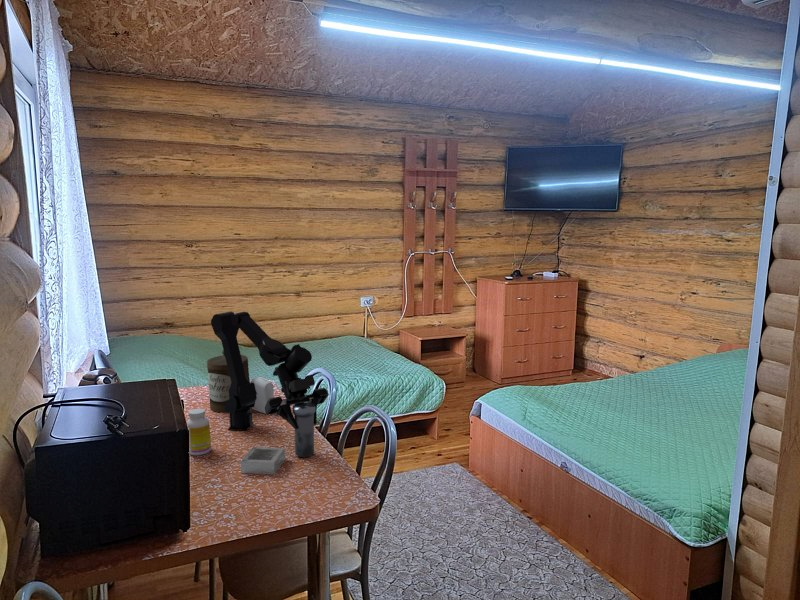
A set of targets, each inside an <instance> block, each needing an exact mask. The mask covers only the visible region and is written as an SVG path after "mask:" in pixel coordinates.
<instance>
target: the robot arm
mask: <svg viewBox="0 0 800 600" xmlns="http://www.w3.org/2000/svg"><path fill="white" fill-rule="evenodd" d="M210 324H211V328H212V330H213V334H214V335H215V336H216V337H217V338H218V339H219V340H220V341H221V345H222V351H223V350H224V354H225V358H226V362H227V366H228V370H229V374H230V379H231V386H230V389H229V398H230V399H229V400H228V401H227V403H226V404H225V405H224V408H225V412H228V414H229V425H230V426H229V427H228V428H227V429H228V431H247V430H249V428H251V427H252V426H253V425H254V422H253V412H252V411H251V410H252V407H254V405H255V401H256V399H257V396H256V394H257V392H256V390H255V384H254V383H251V381H250V382H249V381H248V380H247V378H246V374H245V370H244V366H243V362H242V358H241V355H242V354H241V349H240V346H239V343H238V339H237V337H238V332H239V330H240V331H241V332H242V333H243V334H244V335H245V336H246V337H247V338H248V339H249V340H250V341H251V342H252V343H253V344H254V346H255V347H256V348H257V349H258V353H259V357H260V358H261V359H262V361H263V362H264V364H265V365H267V366H268V367H272V366H275V368H274V371H273V373H272V377H277V378H278V381H279V383H280V387H281V389H280V391H281V393H283V394H284V397H285V398H283V397H282V396H281V395H279V396H276V397H275V396H274V398H269V400H268V401H267V404H266V406H265V412H266V414H265V415H266V416H270V415H276V416H277V417H278V416H280V418H282V419H283V420H285V421H286V422H287V423H288V424H289V425H290V426H291V427H292V428H293V429H294V430H295V429H297V424H296V421H295V419H294V414H293V411H292V409H291V406H293V405H295V404H298V403H312V404H314V405H315V413H314V426H315V425H317V423H318V422H317V421H318V419H317V415H318V414H317V411H318V410H317V409H318V405H322V404H324V403H325V401H326V400H327V398H328V396H329V395H330V394H329V391H328V389H327V388H325V387H321V388H316V389H313V390H312V392H311V394H307V393H308V390H309V389H311V387H312V386H314V385H315V384H316V381H315V378H314V375H313V374H308V375H305V376H304V378H302V377H299V375H298V373H300V372H302V371H303V370H304V369H305V367H307V366H308V364H309V363H310V362H311V361H312V358H313V356H312V353H311V352H310V350H308V349H307V348H305V347H303V346H301V345H300V344H299V343H297V344H294V345H293V346H292V347H291V349H290V348H288V347H287V346H286V345H285V344H283V343H282V342H281V341H280V340H276V339H274V338H272V337H270V336H269V335H268V334H267V333H266V332H265V330H264V329H263V328H262V327H261V326H260V325H259V324H257V322H256V321H255V320H254V319H253V318H252V317H251V314H250V313H249V312H248V311H240V312H233V311H226V312H220V313H216V314H213V316H212V317H211V319H210ZM224 354H223V355H224ZM276 365H278V366H276ZM306 394H307V395H306Z"/></svg>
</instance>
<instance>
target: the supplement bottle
mask: <svg viewBox="0 0 800 600" xmlns="http://www.w3.org/2000/svg"><path fill="white" fill-rule="evenodd" d="M205 415H206V409H204V408H194V409H190V410H189V411H188V417H189V418H188V420H187V421H186V422H187V425H188V428H189V440H190V454H189V455H192V456H202V455H206V454H208V453H210V451H211V450H212V441H211V440H212V439H211V427H210V425H211V424H210V420H209V418H208V417H206V416H205Z"/></svg>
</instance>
